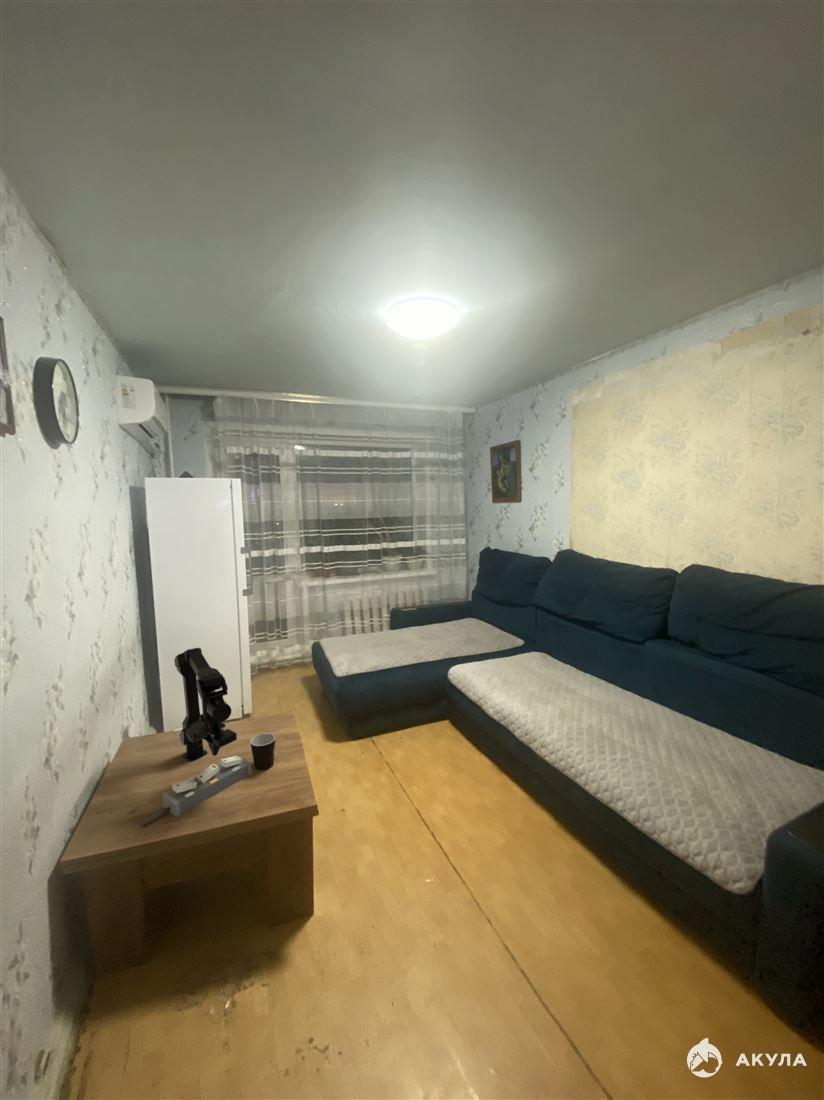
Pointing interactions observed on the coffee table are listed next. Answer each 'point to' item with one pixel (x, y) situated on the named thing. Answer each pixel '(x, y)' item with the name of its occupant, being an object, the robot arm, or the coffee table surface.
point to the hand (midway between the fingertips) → (214, 755)
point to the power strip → (202, 790)
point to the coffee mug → (263, 751)
